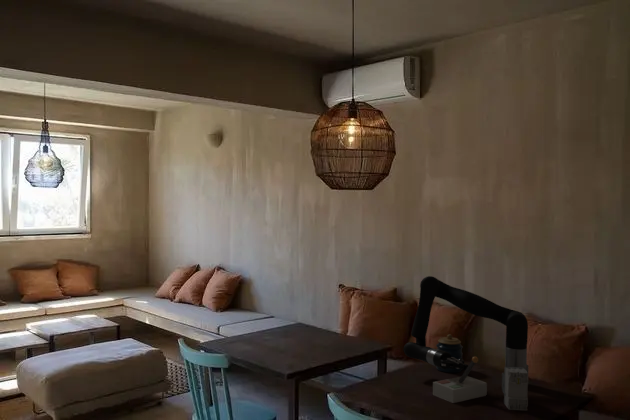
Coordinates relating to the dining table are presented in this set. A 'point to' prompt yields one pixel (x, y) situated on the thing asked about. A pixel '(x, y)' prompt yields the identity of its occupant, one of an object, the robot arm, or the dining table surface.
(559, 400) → the dining table surface
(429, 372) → the dining table surface
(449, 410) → the dining table surface
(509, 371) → the circuit breaker
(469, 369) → the breaker lever
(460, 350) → the canister
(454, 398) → the box
